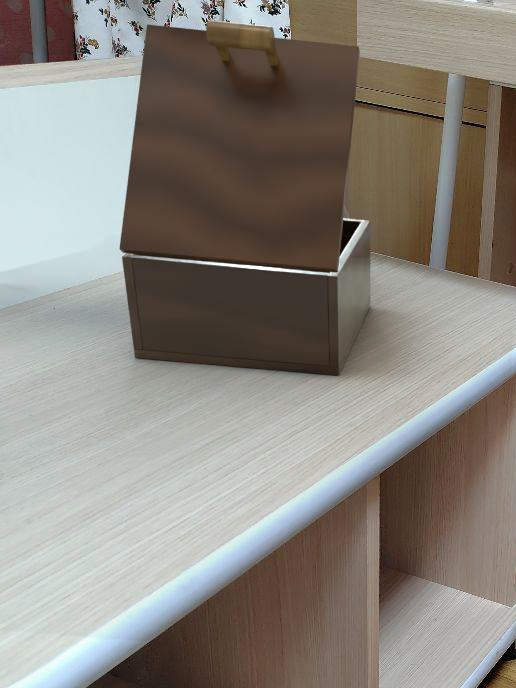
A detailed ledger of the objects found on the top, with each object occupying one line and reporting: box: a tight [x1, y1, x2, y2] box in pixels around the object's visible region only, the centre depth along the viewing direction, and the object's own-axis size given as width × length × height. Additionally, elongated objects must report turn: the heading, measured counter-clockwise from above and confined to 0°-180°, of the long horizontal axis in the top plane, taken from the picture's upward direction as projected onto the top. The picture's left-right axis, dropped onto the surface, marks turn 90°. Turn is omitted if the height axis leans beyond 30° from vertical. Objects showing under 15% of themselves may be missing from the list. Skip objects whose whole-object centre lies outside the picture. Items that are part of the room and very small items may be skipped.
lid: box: [119, 19, 361, 273], centre depth 80 cm, size 20×18×5 cm
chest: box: [121, 218, 371, 376], centre depth 91 cm, size 19×18×9 cm
